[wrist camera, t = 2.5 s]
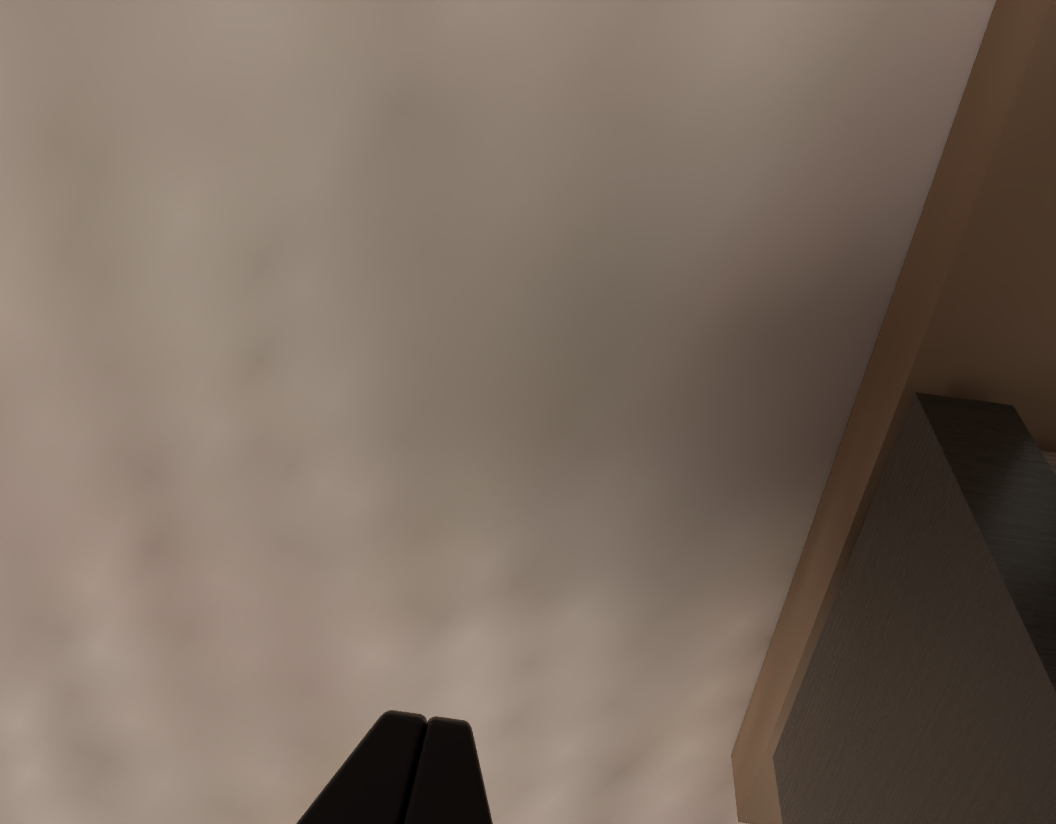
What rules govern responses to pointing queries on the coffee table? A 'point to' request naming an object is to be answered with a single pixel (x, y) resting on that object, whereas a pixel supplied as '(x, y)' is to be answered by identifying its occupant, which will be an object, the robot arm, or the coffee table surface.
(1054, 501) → the gauge carriage
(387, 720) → the robot arm
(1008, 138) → the gauge stand
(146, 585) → the coffee table surface
